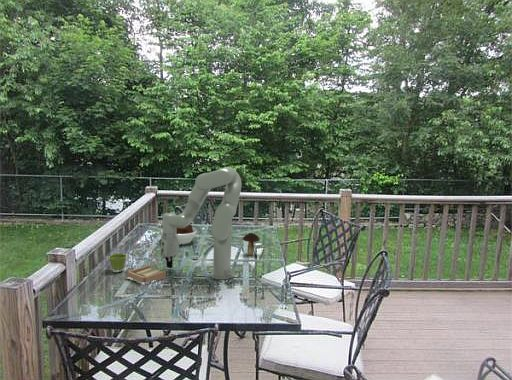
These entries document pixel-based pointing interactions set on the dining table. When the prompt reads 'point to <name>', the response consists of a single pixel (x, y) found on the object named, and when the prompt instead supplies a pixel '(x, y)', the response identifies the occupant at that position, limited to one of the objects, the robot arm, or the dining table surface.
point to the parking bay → (148, 278)
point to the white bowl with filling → (184, 234)
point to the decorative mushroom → (251, 242)
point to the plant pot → (117, 261)
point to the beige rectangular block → (148, 272)
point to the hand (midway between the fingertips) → (169, 267)
